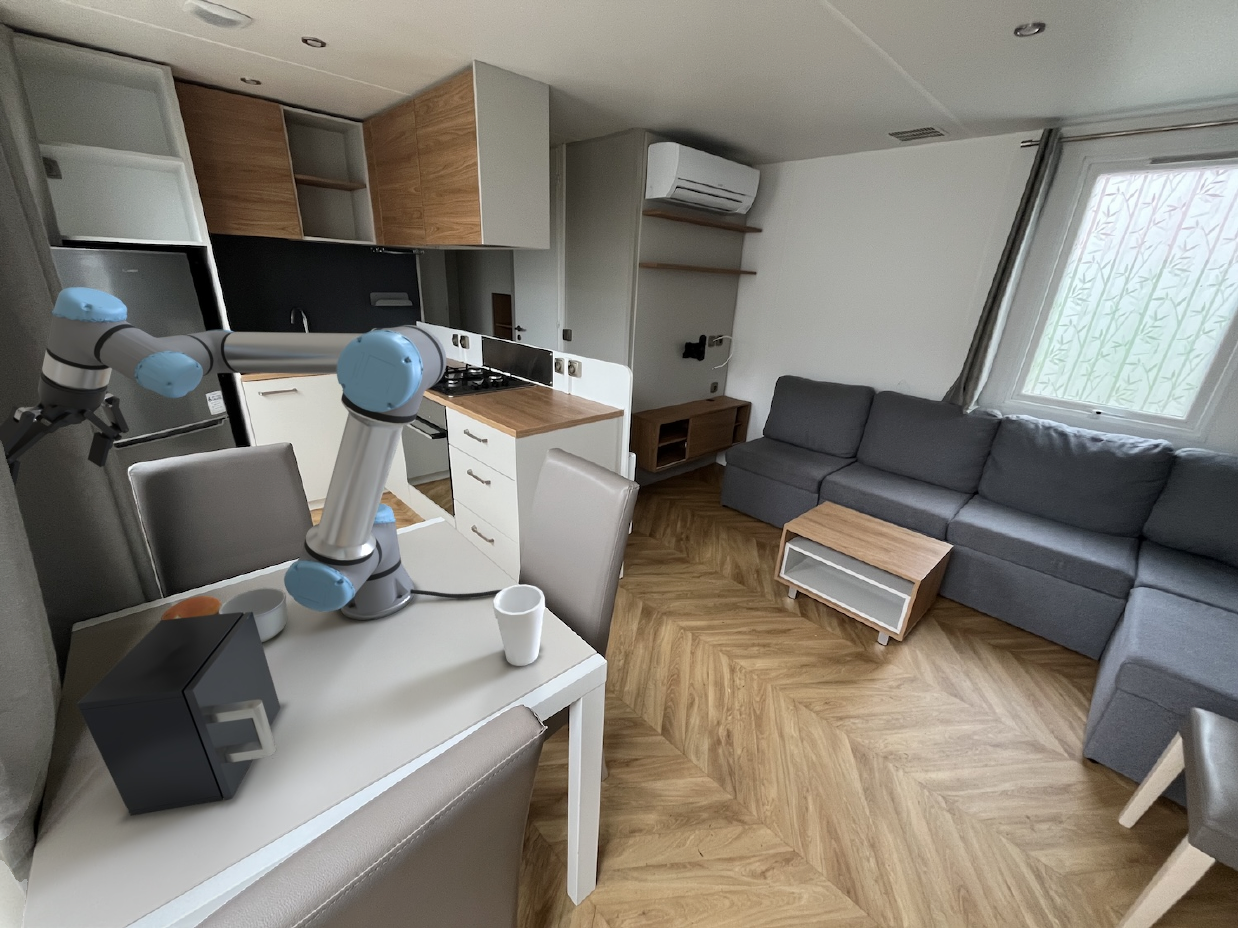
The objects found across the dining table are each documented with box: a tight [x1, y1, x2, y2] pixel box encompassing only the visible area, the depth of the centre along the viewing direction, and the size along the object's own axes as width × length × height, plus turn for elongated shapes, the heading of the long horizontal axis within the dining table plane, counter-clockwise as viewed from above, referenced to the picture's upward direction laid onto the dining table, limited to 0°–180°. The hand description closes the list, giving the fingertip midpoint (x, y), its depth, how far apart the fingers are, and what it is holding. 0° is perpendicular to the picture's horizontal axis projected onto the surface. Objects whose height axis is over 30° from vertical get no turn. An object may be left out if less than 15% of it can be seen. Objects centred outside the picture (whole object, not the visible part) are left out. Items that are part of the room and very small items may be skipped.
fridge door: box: [184, 612, 281, 800], centre depth 73 cm, size 7×16×20 cm, turn 12°
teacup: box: [219, 587, 289, 643], centre depth 98 cm, size 14×11×8 cm
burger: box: [160, 595, 223, 621], centre depth 103 cm, size 10×9×5 cm
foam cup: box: [492, 583, 546, 667], centre depth 95 cm, size 10×9×13 cm
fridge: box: [76, 612, 244, 817], centre depth 72 cm, size 11×16×20 cm
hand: (53, 474), depth 89 cm, fingers open, 13 cm apart
